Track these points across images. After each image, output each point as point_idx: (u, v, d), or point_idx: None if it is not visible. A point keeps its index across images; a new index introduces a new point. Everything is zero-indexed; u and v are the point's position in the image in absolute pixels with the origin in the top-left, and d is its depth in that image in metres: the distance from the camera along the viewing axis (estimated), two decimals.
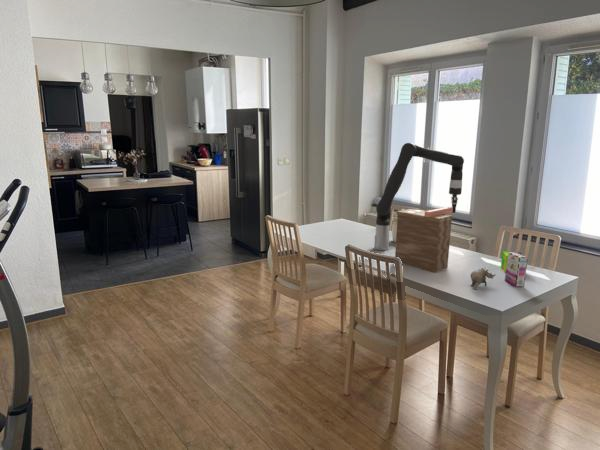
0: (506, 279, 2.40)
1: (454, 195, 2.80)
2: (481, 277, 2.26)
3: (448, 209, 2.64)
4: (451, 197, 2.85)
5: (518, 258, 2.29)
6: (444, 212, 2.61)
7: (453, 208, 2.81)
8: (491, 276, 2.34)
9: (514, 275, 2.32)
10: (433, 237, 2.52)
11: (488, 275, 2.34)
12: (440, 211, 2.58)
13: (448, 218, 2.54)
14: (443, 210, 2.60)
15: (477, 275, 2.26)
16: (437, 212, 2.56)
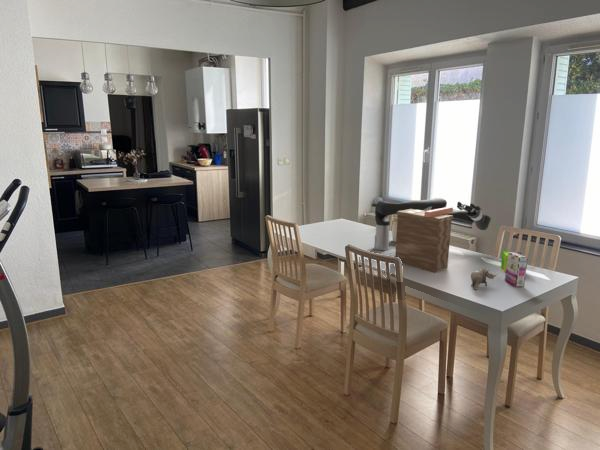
0: (506, 279, 2.40)
1: (477, 210, 2.83)
2: (481, 277, 2.26)
3: (448, 209, 2.64)
4: None
5: (518, 258, 2.29)
6: (444, 212, 2.61)
7: (474, 206, 2.77)
8: (491, 276, 2.33)
9: (514, 275, 2.32)
10: (433, 237, 2.52)
11: (488, 275, 2.33)
12: (440, 211, 2.58)
13: (448, 218, 2.54)
14: (443, 210, 2.60)
15: (477, 275, 2.26)
16: (437, 212, 2.56)
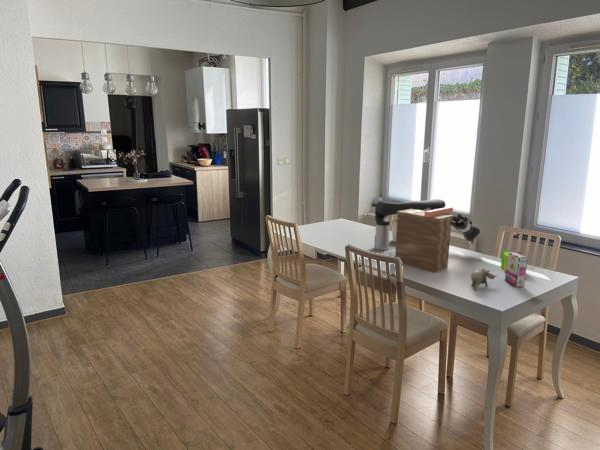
0: (506, 279, 2.40)
1: (464, 221, 2.75)
2: (481, 277, 2.26)
3: (448, 209, 2.64)
4: (457, 217, 2.78)
5: (518, 258, 2.29)
6: (444, 212, 2.61)
7: (461, 216, 2.69)
8: (492, 277, 2.33)
9: (514, 275, 2.32)
10: (433, 237, 2.52)
11: (489, 276, 2.33)
12: (440, 211, 2.58)
13: (448, 218, 2.54)
14: (443, 210, 2.60)
15: (477, 275, 2.26)
16: (437, 212, 2.56)
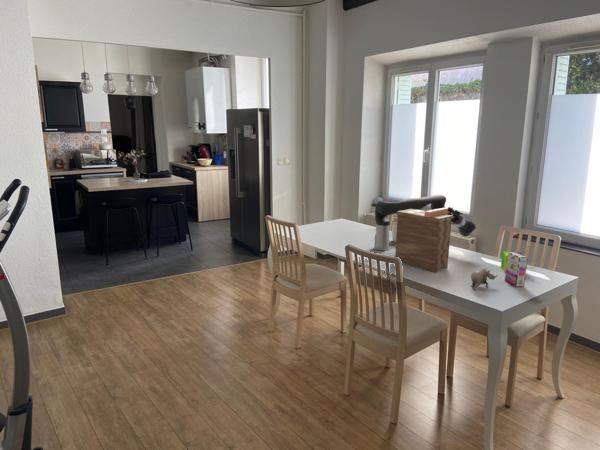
0: (506, 279, 2.40)
1: None
2: (481, 278, 2.25)
3: None
4: None
5: (518, 258, 2.29)
6: (444, 212, 2.61)
7: (452, 210, 2.65)
8: (493, 277, 2.32)
9: (514, 275, 2.32)
10: (433, 237, 2.52)
11: (489, 276, 2.32)
12: (440, 211, 2.58)
13: (448, 218, 2.54)
14: (443, 210, 2.60)
15: (477, 276, 2.25)
16: (437, 212, 2.56)
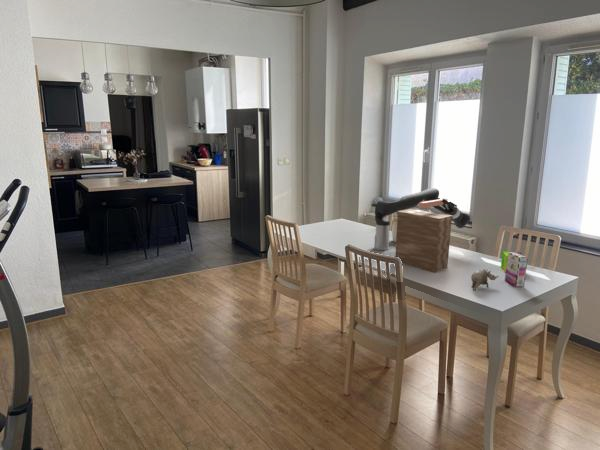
0: (506, 279, 2.40)
1: (454, 207, 2.77)
2: (481, 278, 2.25)
3: None
4: None
5: (518, 258, 2.29)
6: (438, 203, 2.68)
7: (446, 201, 2.72)
8: (493, 278, 2.31)
9: (514, 275, 2.32)
10: (433, 237, 2.52)
11: (490, 277, 2.31)
12: (434, 202, 2.65)
13: (448, 218, 2.54)
14: (437, 201, 2.67)
15: (477, 276, 2.25)
16: (431, 203, 2.63)
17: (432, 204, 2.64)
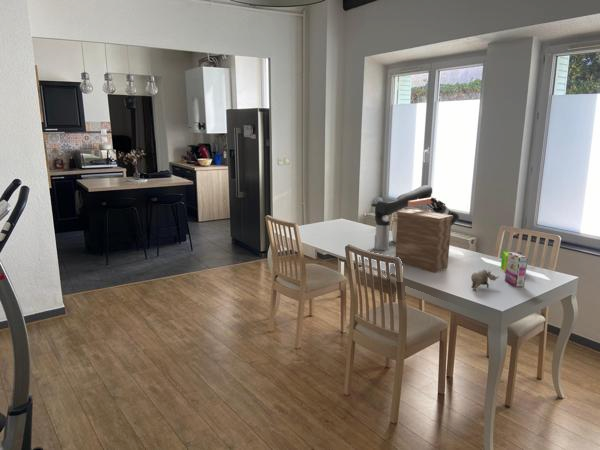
0: (506, 279, 2.40)
1: None
2: (481, 278, 2.24)
3: None
4: None
5: (518, 258, 2.29)
6: (427, 202, 2.73)
7: (434, 200, 2.76)
8: (494, 278, 2.31)
9: (514, 275, 2.32)
10: (433, 237, 2.52)
11: (490, 277, 2.31)
12: (423, 201, 2.70)
13: (448, 218, 2.54)
14: (426, 200, 2.72)
15: (476, 276, 2.25)
16: (420, 202, 2.68)
17: (421, 203, 2.68)
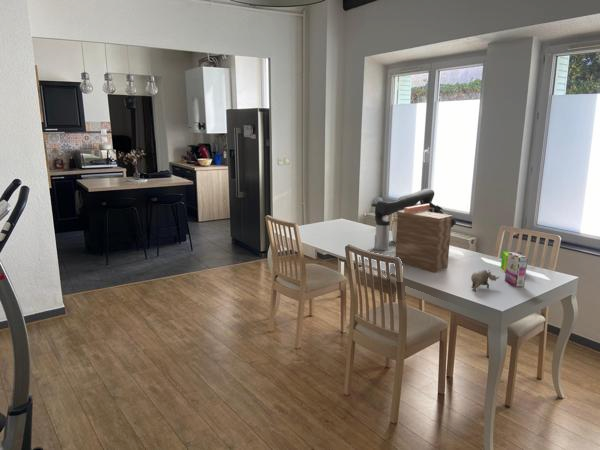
0: (506, 279, 2.40)
1: None
2: (481, 278, 2.24)
3: (427, 206, 2.74)
4: None
5: (518, 258, 2.29)
6: (424, 208, 2.72)
7: (433, 205, 2.74)
8: (494, 278, 2.30)
9: (514, 275, 2.32)
10: (433, 237, 2.52)
11: (491, 277, 2.30)
12: (419, 207, 2.68)
13: (448, 218, 2.54)
14: (423, 207, 2.70)
15: (476, 276, 2.24)
16: (416, 208, 2.66)
17: (417, 209, 2.67)
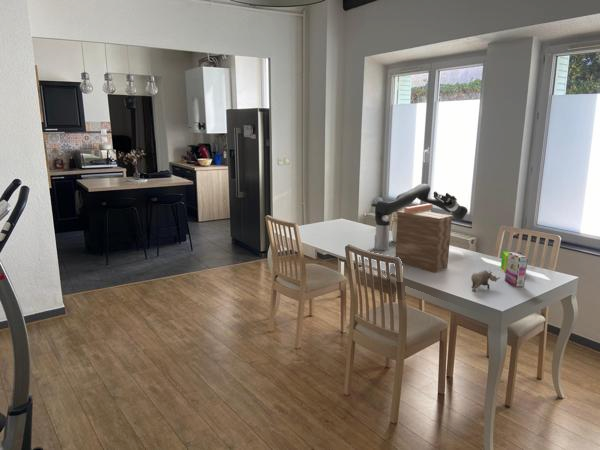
0: (506, 279, 2.40)
1: (452, 200, 2.89)
2: (480, 279, 2.24)
3: (427, 206, 2.74)
4: None
5: (518, 258, 2.29)
6: (424, 208, 2.72)
7: (449, 195, 2.83)
8: (495, 279, 2.29)
9: (514, 275, 2.32)
10: (433, 237, 2.52)
11: (491, 278, 2.29)
12: (419, 207, 2.68)
13: (448, 218, 2.54)
14: (423, 207, 2.70)
15: (476, 276, 2.24)
16: (416, 208, 2.66)
17: (417, 209, 2.67)
